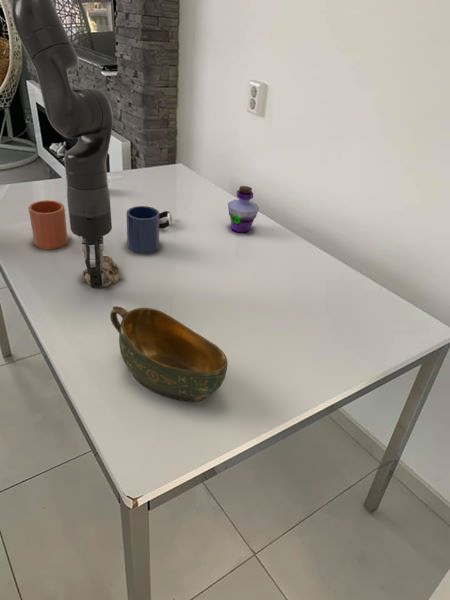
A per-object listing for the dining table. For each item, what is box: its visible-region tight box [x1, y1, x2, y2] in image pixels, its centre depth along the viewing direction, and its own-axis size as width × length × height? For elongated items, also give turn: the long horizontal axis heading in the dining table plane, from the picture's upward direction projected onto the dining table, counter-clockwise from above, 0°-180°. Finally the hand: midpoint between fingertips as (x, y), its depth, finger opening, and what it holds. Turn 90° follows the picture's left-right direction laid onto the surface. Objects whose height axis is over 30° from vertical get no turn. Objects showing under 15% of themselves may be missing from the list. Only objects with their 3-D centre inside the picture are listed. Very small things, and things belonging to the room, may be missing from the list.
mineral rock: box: [82, 255, 121, 288], centre depth 98 cm, size 11×4×8 cm
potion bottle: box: [227, 185, 260, 234], centre depth 122 cm, size 9×9×12 cm
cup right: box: [125, 205, 160, 255], centre depth 109 cm, size 8×8×9 cm
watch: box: [159, 210, 173, 230], centre depth 122 cm, size 8×5×4 cm, turn 179°
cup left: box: [28, 200, 69, 250], centre depth 106 cm, size 8×8×9 cm
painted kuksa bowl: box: [109, 305, 228, 402], centre depth 73 cm, size 13×20×10 cm, turn 33°
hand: (96, 286), depth 93 cm, fingers closed
